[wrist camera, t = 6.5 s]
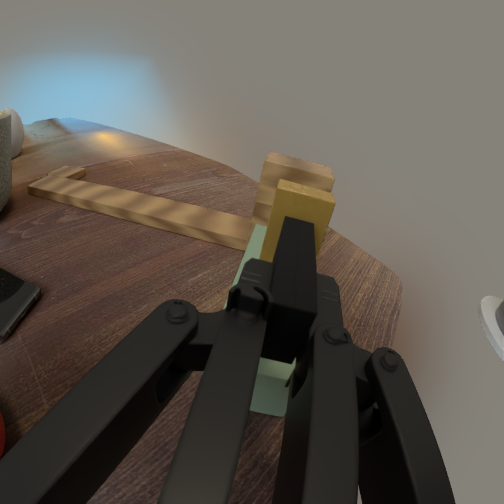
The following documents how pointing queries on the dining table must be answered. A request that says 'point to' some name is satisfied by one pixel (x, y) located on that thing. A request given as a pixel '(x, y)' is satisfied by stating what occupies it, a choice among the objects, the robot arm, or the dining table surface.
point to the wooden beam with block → (182, 214)
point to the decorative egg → (15, 132)
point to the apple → (2, 434)
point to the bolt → (297, 213)
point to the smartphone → (14, 300)
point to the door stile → (269, 371)
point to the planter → (5, 159)
